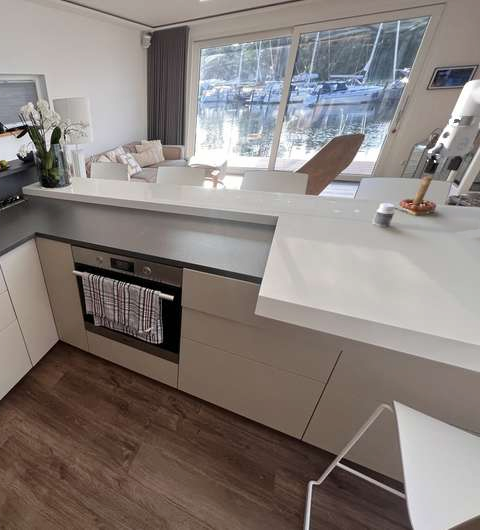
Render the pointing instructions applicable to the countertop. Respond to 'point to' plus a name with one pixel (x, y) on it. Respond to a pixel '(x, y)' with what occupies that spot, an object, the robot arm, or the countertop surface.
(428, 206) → the ring
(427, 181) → the stand
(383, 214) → the pill bottle
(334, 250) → the countertop surface
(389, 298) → the countertop surface
